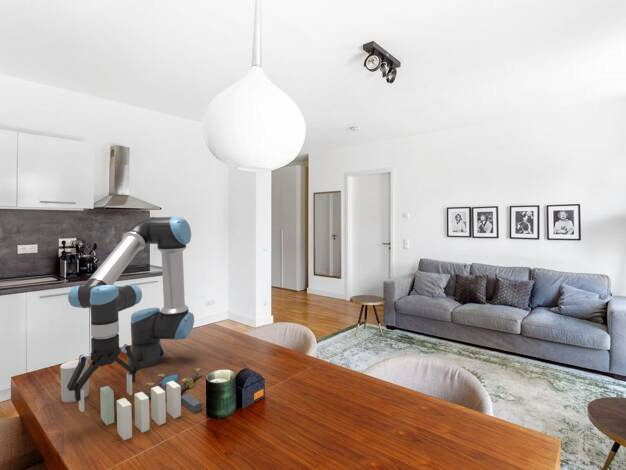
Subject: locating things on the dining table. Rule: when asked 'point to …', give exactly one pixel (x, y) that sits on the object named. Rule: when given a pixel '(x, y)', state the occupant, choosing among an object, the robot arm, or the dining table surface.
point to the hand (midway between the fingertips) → (106, 401)
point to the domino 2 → (124, 419)
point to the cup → (66, 375)
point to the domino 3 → (142, 411)
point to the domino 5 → (173, 399)
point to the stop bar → (191, 403)
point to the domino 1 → (107, 405)
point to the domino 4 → (158, 405)
